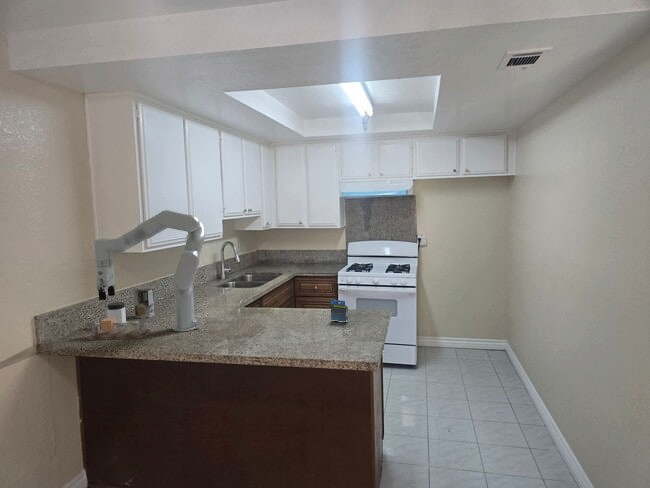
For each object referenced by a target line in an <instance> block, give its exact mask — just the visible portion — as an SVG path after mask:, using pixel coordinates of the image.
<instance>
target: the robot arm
mask: <svg viewBox="0 0 650 488" xmlns="http://www.w3.org/2000/svg"><path fill="white" fill-rule="evenodd" d="M167 229H171V230H178V231H182V232H186V233H187V237H186V238H187V239H186V240H185V243H184V248H183V249H182V253H181V254H180V257H179V260H178V264H177V266H176V269H175V271H174V274H173V277H172V284H173V297H174V315H175V316H174V317H175V325H174V326H172V330H173V331H175V332H190V331H194V330H196V329H197V328H199V326H202V325H204V322H203V321H202V320H197V318H196V317H195V304H194V303H195V302H194V301H195V300H194V280H195V277H196V273H197V271H198V269H199V265H200V255H201V252H202V249H203V245H204V243H205V237H206V236H205V235H206V232H205V228H204V225H203V223H202V222H201V221H200V220H199V218H197V216H196V215H193V214H187V213H181V212H177V211H172V210H170V209H165V210H161V211H160V212H159V213H157V214H155V215H154V216H152V217H150V218H148V219H146V220H144V221H143V222H141V223H139V224H138V225H137V226H136V227H134V228H133V229H132V230H129V231H128V232H126V233H125V234H122V235H121V236H118V237H116V238H111V239H110V238H98V239H97V238H96V239H95V240H94V242H93V244H94V256H95V259H94V260H95V268H96V282H97V283H96V289H97V293H98V300H99V301H106V300H107V295H108V297H114V296H116V292H115V291H116V290H115V285H116V274H115V268H114V258H113V254H122V253H125V252H126V251H128V250H129V249H132V248H133V247H135V246H136V245H138V244H140V243H142V242H144V241H146V240H149V239H151V238H153V237H155V236H156V235H158V234H159V233H161V232H163V231H165V230H167ZM106 289H107V291H106ZM106 292H107V293H106Z"/></svg>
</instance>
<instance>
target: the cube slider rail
mask: <svg viewBox="0 0 650 488" xmlns="http://www.w3.org/2000/svg"><path fill="white" fill-rule="evenodd" d="M146 319H147V318H139V321H138V320H137V321H126V322H112V324H113V326H118V327H128V326H130V327H131V326H132V327H134V326H139V329H119V330H116V329H114V330H112V331H101V322H100V320H99V319H98V318H95V319H94V320H92V321H91V320H90V321H88V322H87V323H86V324H87V325H86V326H87V330H91V335H89V336H88V337H87V338H88V339H87V340H88V341H95V340H118V339H120V340H121V339H122V340H123V339H143V338H145V337H146V336H147V335H148V334H149V333H151V329H149V328H147V322H146Z"/></svg>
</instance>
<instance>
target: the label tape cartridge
mask: <svg viewBox="0 0 650 488" xmlns="http://www.w3.org/2000/svg"><path fill="white" fill-rule="evenodd" d="M331 320H338V321H346V320H348V321H349V306H348V305H346V301H345V300H339V299H330V321H331Z"/></svg>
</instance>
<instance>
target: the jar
mask: <svg viewBox="0 0 650 488" xmlns="http://www.w3.org/2000/svg"><path fill="white" fill-rule="evenodd" d="M106 313H107V315H106V316H107V318H116V322H127V317H126V314H127V313H126V307H125V302H123V301H115V302H109V303H108V304H107V310H106ZM117 327H119V326H116V328H117Z"/></svg>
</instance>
